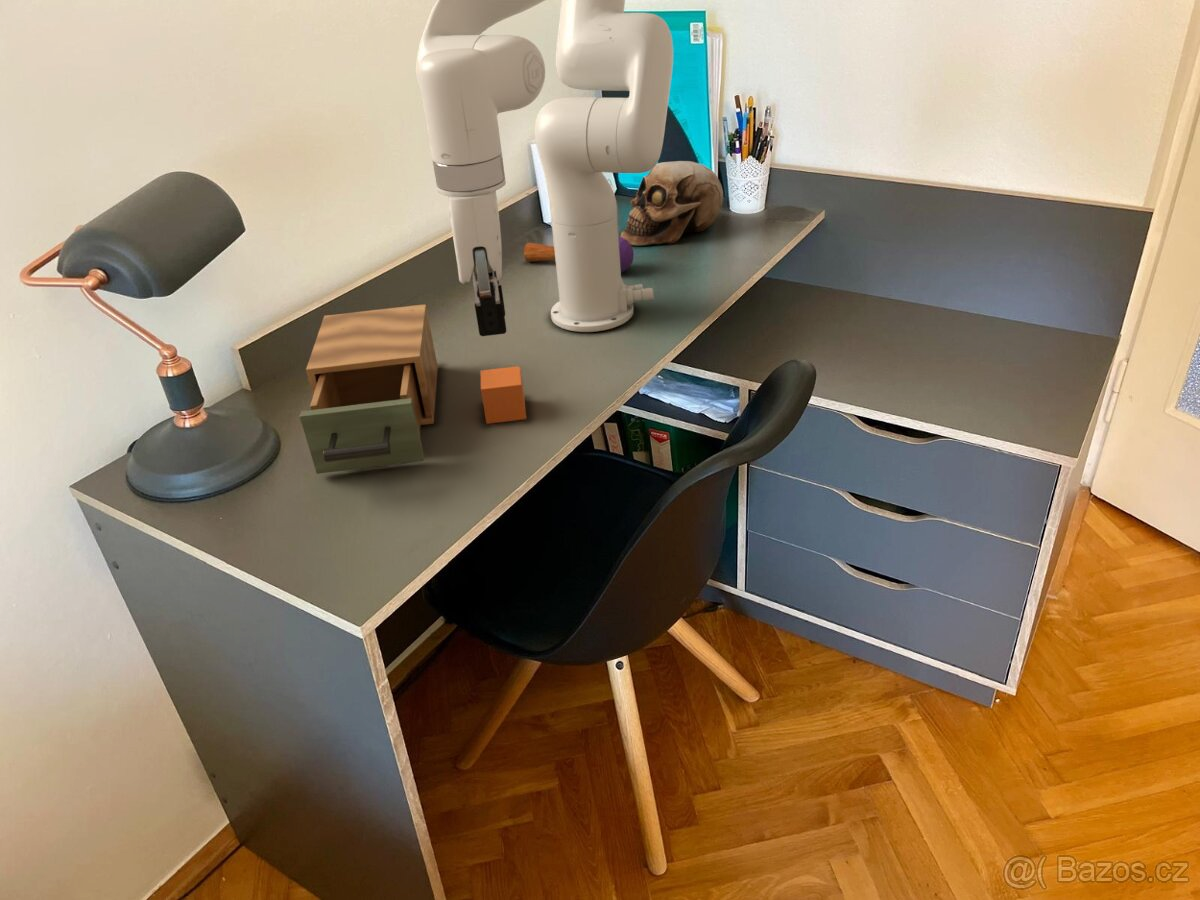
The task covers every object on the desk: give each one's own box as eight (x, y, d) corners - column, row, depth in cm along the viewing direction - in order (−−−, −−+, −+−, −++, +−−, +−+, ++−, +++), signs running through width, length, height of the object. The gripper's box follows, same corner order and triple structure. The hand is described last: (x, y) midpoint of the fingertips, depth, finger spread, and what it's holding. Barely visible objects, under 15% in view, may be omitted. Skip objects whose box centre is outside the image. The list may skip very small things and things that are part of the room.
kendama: (536, 232, 158) (638, 234, 149) (539, 266, 161) (640, 270, 152) (518, 237, 154) (622, 240, 145) (521, 272, 156) (624, 277, 147)
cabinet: (433, 423, 114) (419, 356, 108) (325, 436, 113) (305, 369, 107) (437, 366, 127) (425, 304, 121) (340, 378, 126) (324, 315, 121)
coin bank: (612, 242, 162) (613, 166, 156) (654, 221, 175) (657, 150, 169) (692, 255, 156) (697, 176, 149) (729, 232, 169) (735, 159, 162)
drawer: (421, 484, 101) (408, 425, 96) (310, 498, 100) (291, 439, 96) (429, 399, 117) (418, 346, 113) (333, 411, 116) (318, 357, 112)
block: (524, 399, 117) (519, 365, 114) (526, 419, 113) (521, 384, 110) (486, 404, 117) (480, 370, 114) (486, 424, 112) (480, 389, 110)
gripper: (438, 156, 105) (462, 301, 115) (432, 200, 91) (460, 360, 101) (502, 149, 105) (521, 294, 115) (506, 192, 91) (527, 353, 101)
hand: (492, 324), depth 108 cm, fingers open, 3 cm apart
